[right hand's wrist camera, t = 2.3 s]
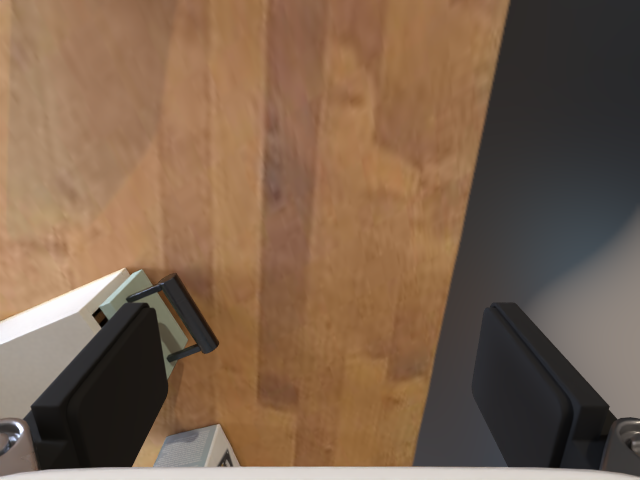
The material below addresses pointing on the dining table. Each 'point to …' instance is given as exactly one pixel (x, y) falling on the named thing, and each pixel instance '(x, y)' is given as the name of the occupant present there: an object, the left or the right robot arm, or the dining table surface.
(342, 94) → the dining table surface
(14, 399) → the cabinet
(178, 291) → the drawer
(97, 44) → the dining table surface
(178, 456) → the hard drive box
